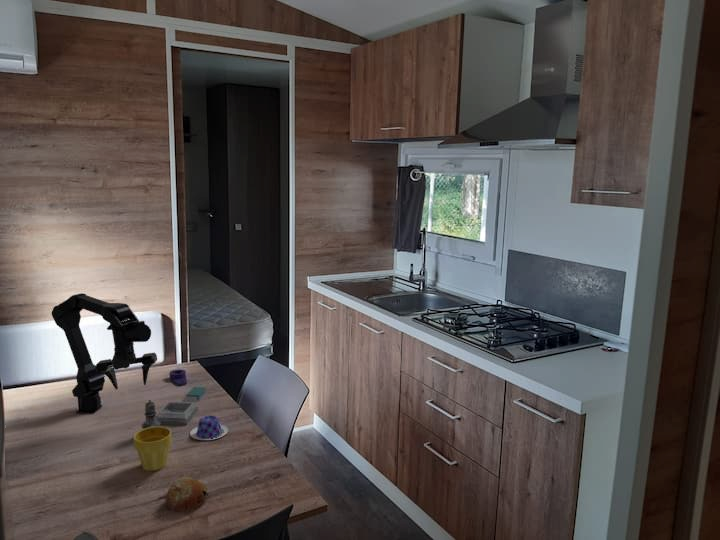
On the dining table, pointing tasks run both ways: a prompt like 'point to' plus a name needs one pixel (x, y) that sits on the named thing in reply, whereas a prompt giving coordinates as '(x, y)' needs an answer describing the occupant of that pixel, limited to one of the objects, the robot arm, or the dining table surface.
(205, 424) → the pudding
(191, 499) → the bread roll
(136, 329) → the robot arm
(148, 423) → the chess piece
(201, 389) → the square frying pan
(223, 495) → the dining table surface
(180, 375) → the lever
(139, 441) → the plant pot
